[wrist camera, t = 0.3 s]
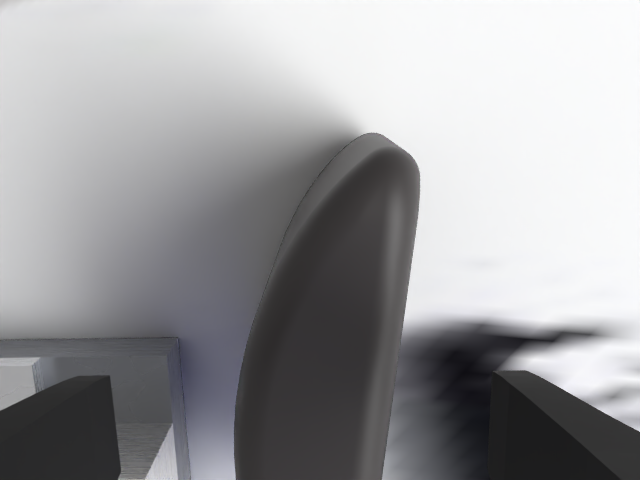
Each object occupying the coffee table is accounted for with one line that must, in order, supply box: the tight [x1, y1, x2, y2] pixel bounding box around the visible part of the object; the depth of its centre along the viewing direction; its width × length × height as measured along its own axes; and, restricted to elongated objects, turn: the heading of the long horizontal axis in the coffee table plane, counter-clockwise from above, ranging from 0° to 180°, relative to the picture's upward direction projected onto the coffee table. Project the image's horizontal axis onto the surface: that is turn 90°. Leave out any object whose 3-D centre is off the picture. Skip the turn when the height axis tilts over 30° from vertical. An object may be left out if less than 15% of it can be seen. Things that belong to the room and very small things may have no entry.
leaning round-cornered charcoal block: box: [234, 133, 420, 480], centre depth 17 cm, size 13×4×8 cm, turn 175°
